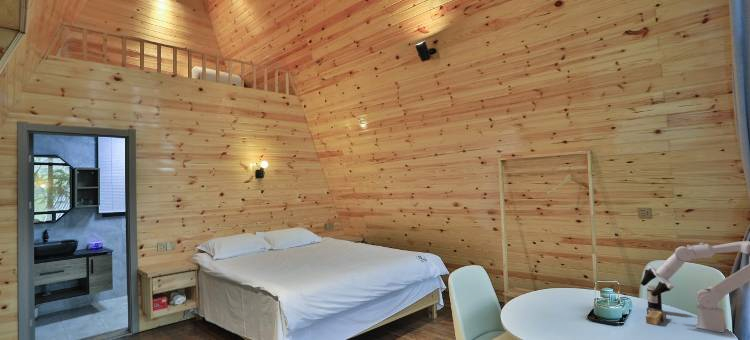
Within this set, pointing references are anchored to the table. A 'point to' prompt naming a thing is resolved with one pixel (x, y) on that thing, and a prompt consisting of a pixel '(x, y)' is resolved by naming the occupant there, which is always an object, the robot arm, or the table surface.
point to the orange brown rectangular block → (654, 317)
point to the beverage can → (653, 299)
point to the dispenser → (657, 310)
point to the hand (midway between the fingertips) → (647, 290)
